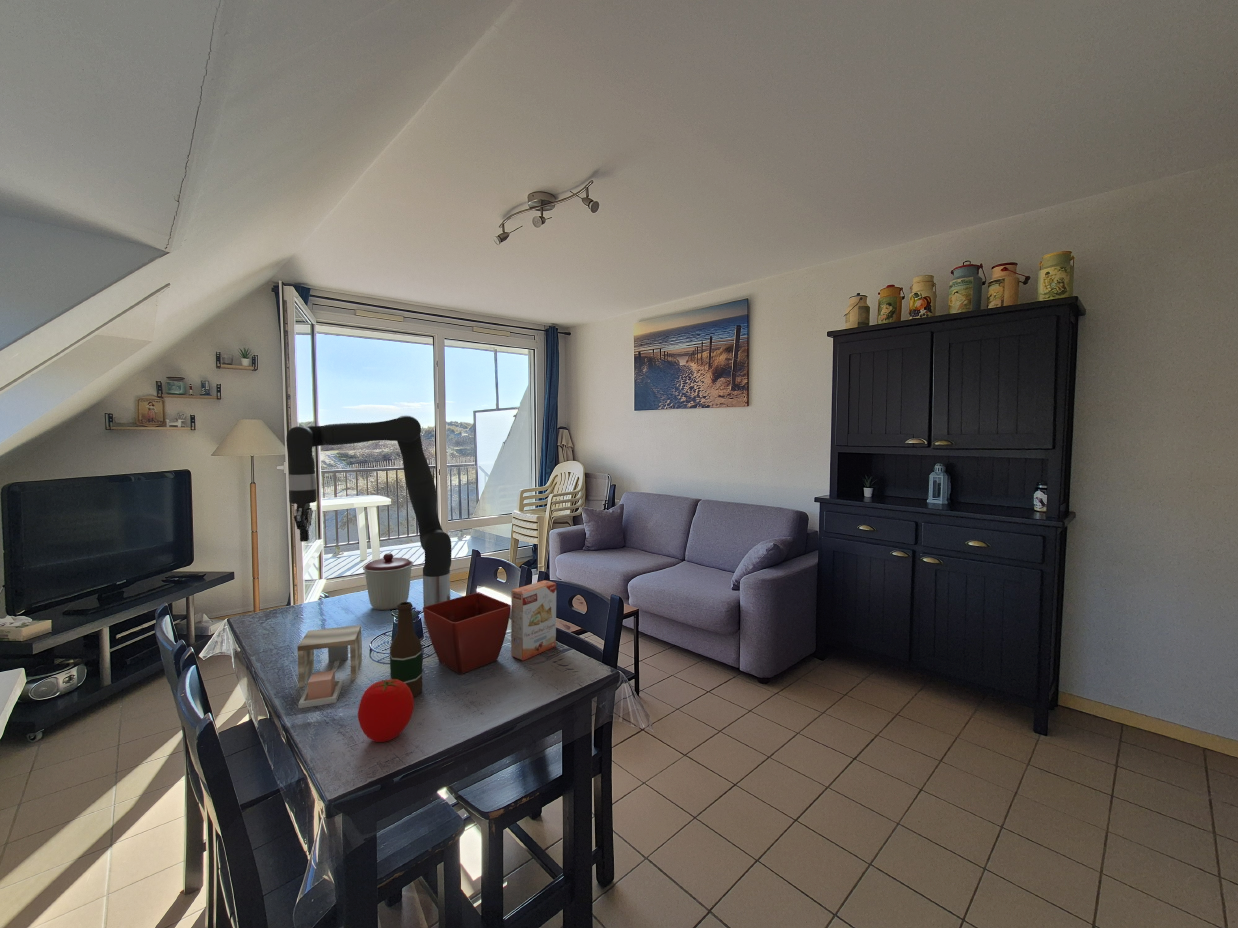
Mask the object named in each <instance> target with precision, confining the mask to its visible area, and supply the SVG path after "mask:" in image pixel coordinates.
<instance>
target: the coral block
mask: <svg viewBox="0 0 1238 928" xmlns="http://www.w3.org/2000/svg"><path fill="white" fill-rule="evenodd" d="M331 670H332V669H331ZM331 670H328V671H327V670H326V671H319V672H312V673H311V675H310V677H309V679H308V680H307V687H308V700H314V699H321V698H327V697H332V695H333V693H334V691H335V680H336V678H335V677H336V672H335V670H332V671H331Z"/></svg>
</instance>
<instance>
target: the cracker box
mask: <svg viewBox="0 0 1238 928" xmlns="http://www.w3.org/2000/svg"><path fill="white" fill-rule="evenodd" d="M510 592H511V593H510V594H511V596H510V597H511V601H510V602H511V603H510V605H511V610H510V615H511V616H510V617H511V619H510V620H511V621H510V622H511V624H510V625H511V627H510V628H511V629H510V630H511V632H510V634H511V636H510V638H511V639H510V640H511V641H510V644H511V646H510V649H511V651H510V652H511V653H510V654H511V657H512V658H513V657H514V658H516V659H518V660H520V661H523V662H524V661H527V660H528V659H530V658H533V657H535V656H537V655H539V654H541V653H543V652H546V651H549V650H550V649H553V648H555V647H556V646H557V645H556V644H557V642H556V641H557V640H556V637H557V583H555V582H552V581H550V580H549V581H548V580H542V581H537V582H535V583H529V584H528V585H524V586H521V587H517V588H514V589H511V591H510Z"/></svg>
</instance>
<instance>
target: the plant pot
mask: <svg viewBox="0 0 1238 928" xmlns="http://www.w3.org/2000/svg"><path fill="white" fill-rule="evenodd" d="M422 612H423V619H424V618H425V622H426V623H425V622H424V623H425V625H426V629H427V633H428V635H429V639H430V642H431V645H432V647H433V650H434V652H435V656H436V657H437V659H438V661H439V663H441V664H442V665H444V666H445V667H447V668H449V669H450V670H452V671H454V672H455V673H457V674H458V675H459V674H460V675H462V674H465V673H468V672H471V671H473V670H475V669H478V668H480V667H483V666H486V665H488V664H491V663H493V662H496V661H497V660H498V658H499V656H500V654H501V650H502V647H503V645H504V642H505V638H506V635H507V631H508V626H509V622H510V617H511V616H510V615H511V603H510V604H509V603H506V602H504V601H501V600H498V599H496V598H494V597H491V596H489V595H486V594H484V593H481V592H473V593H471V594H468V595H463V596H459V597H455V598H450V600H447V601H443V602H440V603H436V604H432V605H429V606H425V607H424V606H423V607H422Z"/></svg>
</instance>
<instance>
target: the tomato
mask: <svg viewBox="0 0 1238 928" xmlns="http://www.w3.org/2000/svg"><path fill="white" fill-rule="evenodd" d="M414 700H415V699H414V697H413V695H412V692H411V690H410V688H409V687H408V686H407V685H406V684H405V683H404V682H402V681H400V680H397V679H390V678H389V679H385V680H384V679H381V680H380V681H377V682H374V683H373V684H371V685H369V686H368V687H367V688H366V689H365V690H364V692H363V694H362V696H361V699H360V701H359V702H360V703H359V706H358V710H357V719H358V723H359V726H360V728H361V731H362V732H363V733H364V734H365V736H366V737H367V738H368V739H370V740H371V741H373V742H377V743H384V742H389V741H391V740H393V739H395V738H396V737H397V736H398V735H400V734H401V733H402V732H403V731H404V729H405V728H406V727H407V726H408V724H409V722H410V719H411V718H412V716H413V712H414V707H415V706H414V705H415V704H414V703H415V702H414Z"/></svg>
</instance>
